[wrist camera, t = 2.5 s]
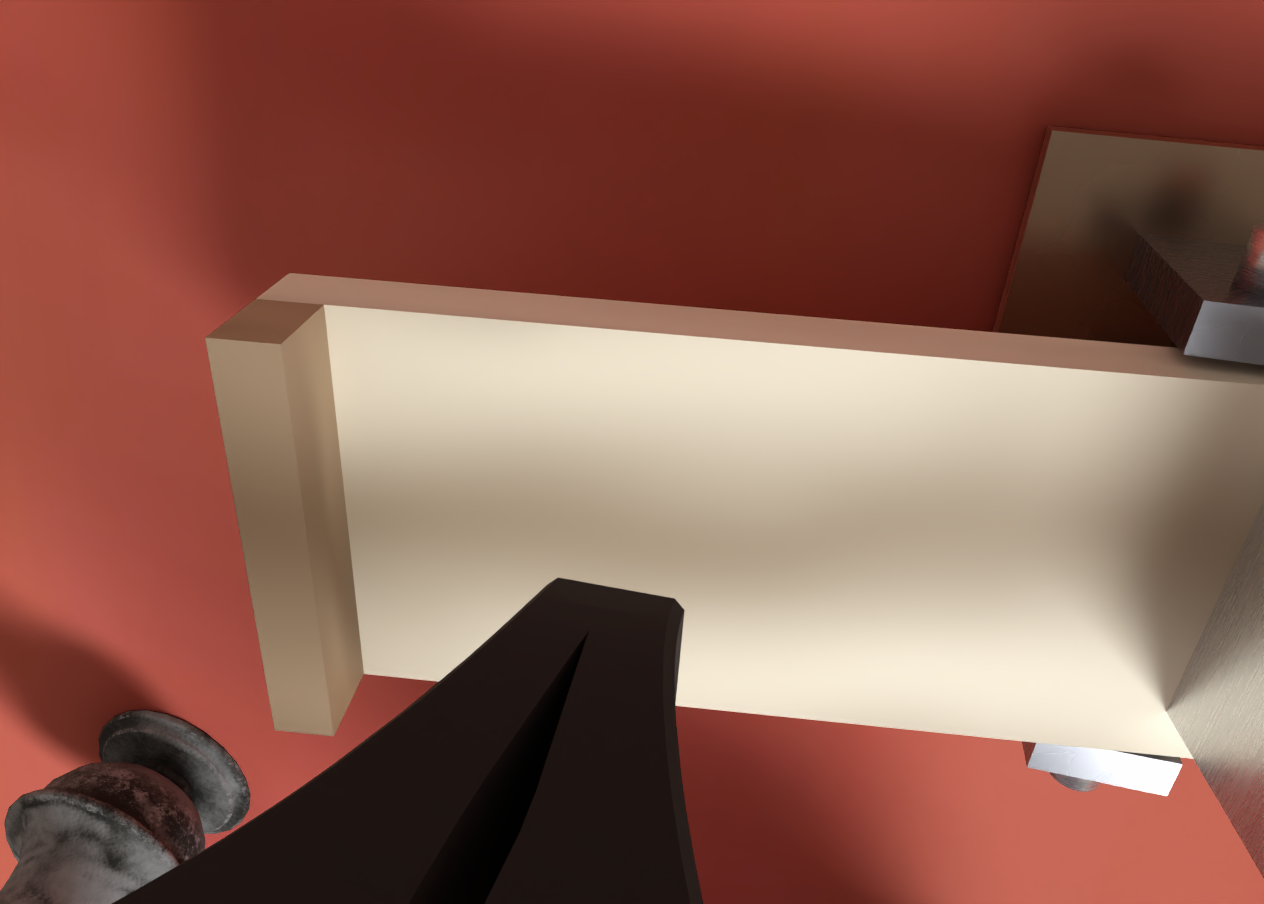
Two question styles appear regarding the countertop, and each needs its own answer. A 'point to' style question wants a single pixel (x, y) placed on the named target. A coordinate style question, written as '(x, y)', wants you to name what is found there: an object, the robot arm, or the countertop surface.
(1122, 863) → the countertop surface
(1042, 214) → the pivot stand
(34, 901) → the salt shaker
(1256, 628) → the steel block
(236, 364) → the beam
